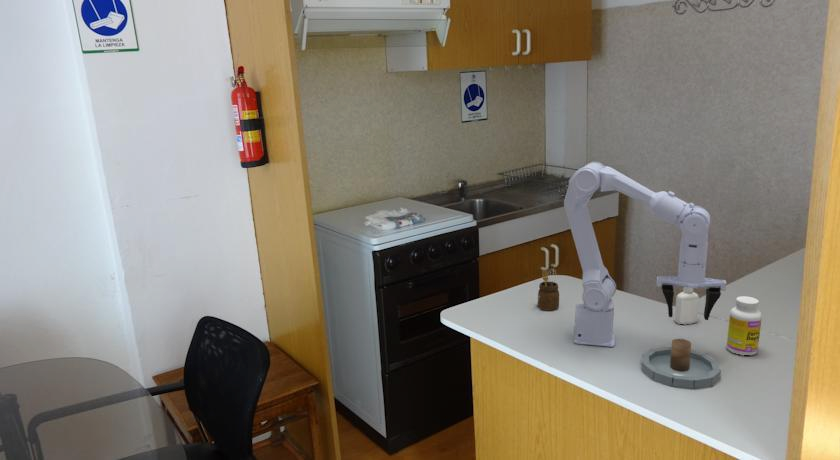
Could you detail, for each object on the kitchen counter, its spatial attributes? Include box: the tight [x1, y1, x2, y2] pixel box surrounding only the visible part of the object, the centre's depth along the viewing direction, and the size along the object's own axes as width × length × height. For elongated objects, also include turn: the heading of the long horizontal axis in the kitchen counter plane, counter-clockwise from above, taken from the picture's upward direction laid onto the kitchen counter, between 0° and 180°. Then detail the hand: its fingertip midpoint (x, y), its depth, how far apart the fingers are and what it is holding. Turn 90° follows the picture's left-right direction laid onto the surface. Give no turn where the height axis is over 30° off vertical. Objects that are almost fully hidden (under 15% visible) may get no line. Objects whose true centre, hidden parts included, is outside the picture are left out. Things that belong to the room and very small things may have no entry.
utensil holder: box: [537, 269, 560, 312], centre depth 180 cm, size 6×6×12 cm
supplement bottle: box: [726, 295, 763, 356], centre depth 150 cm, size 7×7×13 cm
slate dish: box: [640, 346, 722, 390], centre depth 143 cm, size 16×16×2 cm
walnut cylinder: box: [670, 338, 692, 372], centre depth 142 cm, size 4×4×6 cm
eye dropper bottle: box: [674, 287, 700, 326], centre depth 167 cm, size 4×6×12 cm
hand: (688, 317), depth 148 cm, fingers open, 7 cm apart
